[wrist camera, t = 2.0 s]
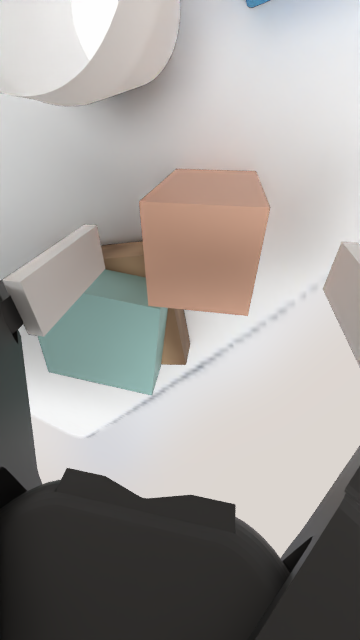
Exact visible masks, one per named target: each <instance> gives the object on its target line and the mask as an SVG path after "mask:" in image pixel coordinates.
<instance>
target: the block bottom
mask: <svg viewBox="0 0 360 640" xmlns="http://www.w3.org/2000/svg"><path fill="white" fill-rule="evenodd" d="M101 249H102V254H103V259H104V264H105V269H106V270H111V271H116V272H121V273H126V274H131V275H136V276H140V277H145V278H146V274H145V263H144V251H143V241H140V242H130V243H121V244H111V245H101ZM189 347H190V341H189V335H188V330H187V325H186V319H185V314H184V309H175V308H168V312H167V320H166V328H165V336H164V345H163V353H162V361H161V364H167V365H186V362H187V357H188V352H189Z"/></svg>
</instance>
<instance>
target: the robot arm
mask: <svg viewBox="0 0 360 640" xmlns="http://www.w3.org/2000/svg"><path fill="white" fill-rule="evenodd" d="M104 270H105V264H104V259H103V254H102V249H101V244H100V239H99V233H98V228H97V225H88V224H84V225H83V226H81V227H80V228H78V229H77V230H75V231H74V232H72V233H71V234H69V235H68V236H67V237H65V238H64V239H62V240H61V241H59V242H58V243H56V244H55V245H53V246H52V247H50V248H49V249H47V250H46V251H44V252H43V253H41V254H40V255H38V256H37V257H36V258H34V259H33V260H31V261H30V262H28V263H26V264H25V265H23V266H22V267H20V268H19V269H17V270H16V271H14V272H13V273H12V274H10V275H8V276H7V277H5V278H4V279H2V280H1V281H0V640H360V446H359V447H358V449H357V451H356V452H355V453H354V455H353V456H352V458H351V459H350V461H349V462H348V464H347V465H346V467H345V468H344V469H343V471H342V472H341V474H340V475H339V477H338V478H337V480H336V481H335V483H334V484H333V486H332V487H331V488H330V490H329V491H328V493H327V494H326V496H325V497H324V499H323V500H322V502H321V503H320V505H319V506H318V508H317V509H316V511H315V512H314V514H313V515H312V516H311V518H310V519H309V521H308V522H307V524H306V525H305V526H304V528H303V529H302V531H301V532H300V534H299V535H298V536H297V537H296V538H295V540H294V541H293V542H292V543H291V545H290V546H289V547H288V549H287V550H286V551H285V553H284V554H283V555H282V557H281V558H279V556H278V555H277V553H276V552H275V551H274V549H273V548H272V547H271V546H270V545H269V544H268V543H267V541H266V540H265V539H264V538H263V537H262V536H261V535H260V534H259V533H257V532H256V531H255V530H254V529H253V528H251V527H250V526H249V525H248V524H246V523H245V522H243V521H242V520H240V519H238V518H236V517H235V504H231V503H226V502H222V501H217V500H212V499H208V498H203V497H199V496H194V495H184V496H172V497H161V498H149V499H146V498H142V497H139V496H138V495H136V494H134V493H133V492H131V491H129V490H128V489H126V488H124V487H122V486H121V485H119V484H118V483H116V482H114V481H112V480H111V479H109V478H107V477H106V476H102V475H97V474H93V473H88V472H83V471H79V470H74V469H70V468H67V469H66V471H65V473H64V475H63V477H62V479H61V480H57V481H53V482H48V483H45V484H42V482H41V479H40V477H39V474H38V470H37V464H36V456H35V448H34V440H33V432H32V424H31V415H30V407H29V399H28V391H27V383H26V374H25V366H24V358H23V350H22V342H21V336H20V334H19V332H18V329H19V328H20V327H21V326H22V325H23V324H24V326H25V329H26V331H27V333H28V335H35V336H43V337H44V336H45V335H46V334H47V333H48V332H49V331H50V329H51V328H52V327H53V326H54V325H55V324H56V323H57V322H58V321H59V319H60V318H61V317H62V316H63V315H64V314H65V313H66V312H67V311H68V310H69V308H70V307H71V306H72V305H73V304H74V303H75V302H76V301H77V300H78V298H79V297H80V296H81V295H82V294H83V293H84V292H85V291H86V290H87V288H88V287H89V286H90V285H91V284H92V283H93V282H94V281H95V280H96V279H97V277H98V276H99V275H100V274H101V273H102V272H103V271H104ZM323 291H324V293H325V295H326V297H327V299H328V301H329V303H330V305H331V307H332V310H333V312H334V314H335V316H336V318H337V320H338V322H339V324H340V326H341V328H342V331H343V333H344V335H345V337H346V339H347V341H348V343H349V346H350V347H351V350H352V352H353V354H354V356H355V358H356V360H357V362H358V365H359V367H360V244H359V243H353V242H341V245H340V247H339V250H338V252H337V255H336V257H335V260H334V262H333V265H332V267H331V270H330V272H329V275H328V277H327V280H326V282H325V285H324V287H323Z"/></svg>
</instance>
